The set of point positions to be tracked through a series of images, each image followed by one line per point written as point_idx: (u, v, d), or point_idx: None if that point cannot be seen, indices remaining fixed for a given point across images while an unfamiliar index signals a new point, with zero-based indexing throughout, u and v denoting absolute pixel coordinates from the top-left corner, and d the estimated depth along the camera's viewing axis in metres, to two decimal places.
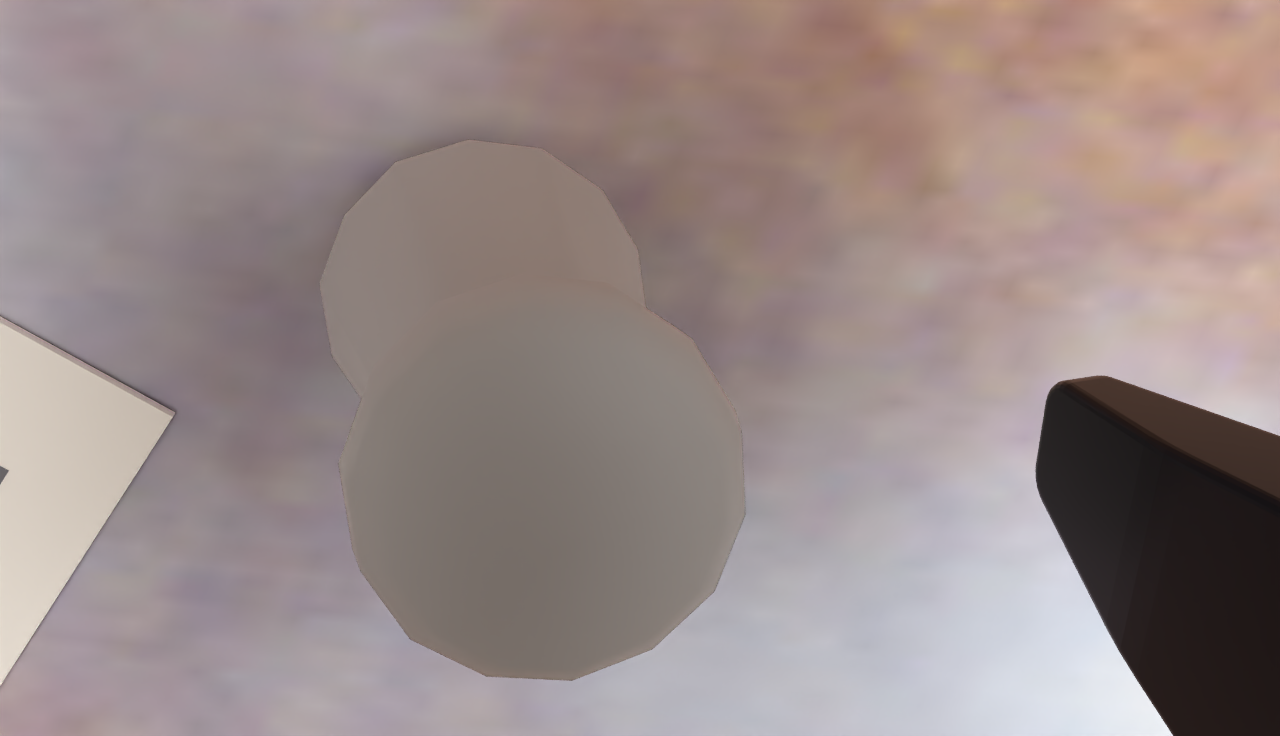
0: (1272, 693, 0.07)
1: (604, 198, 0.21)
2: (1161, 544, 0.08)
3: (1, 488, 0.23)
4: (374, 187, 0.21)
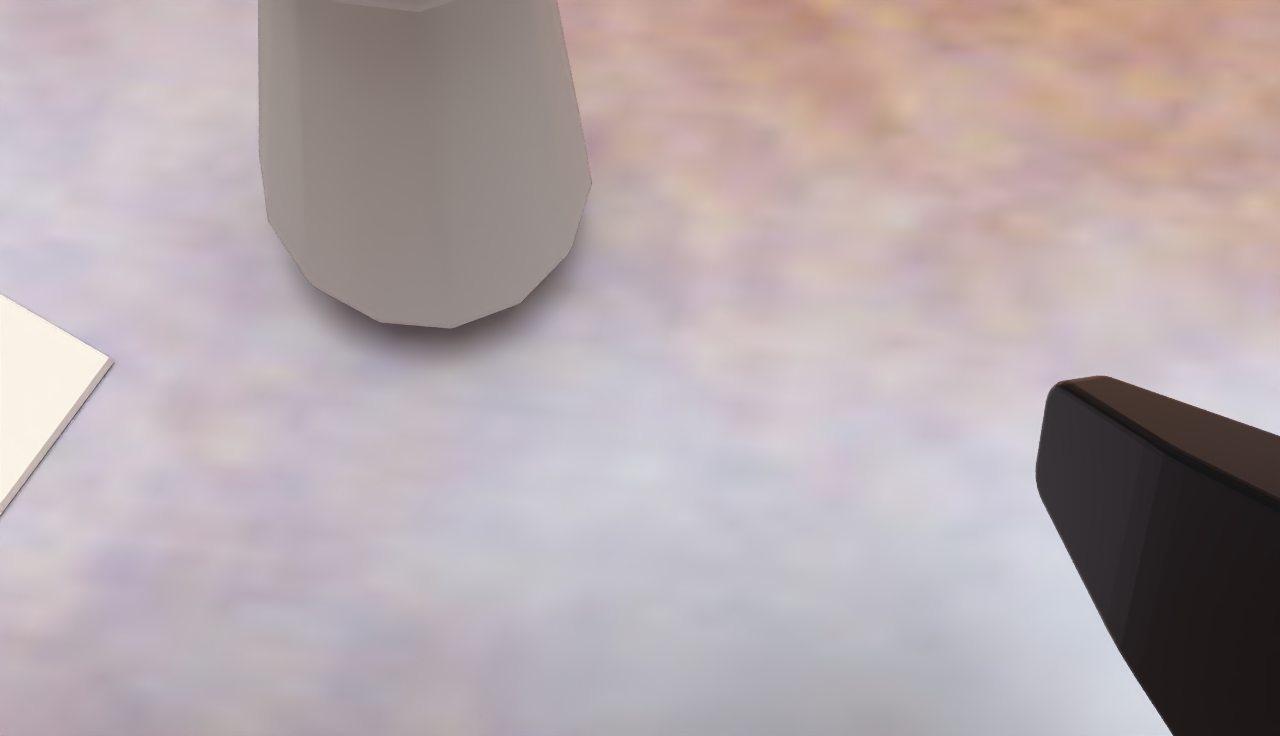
0: (1272, 694, 0.07)
1: None
2: (1161, 545, 0.08)
3: None
4: None
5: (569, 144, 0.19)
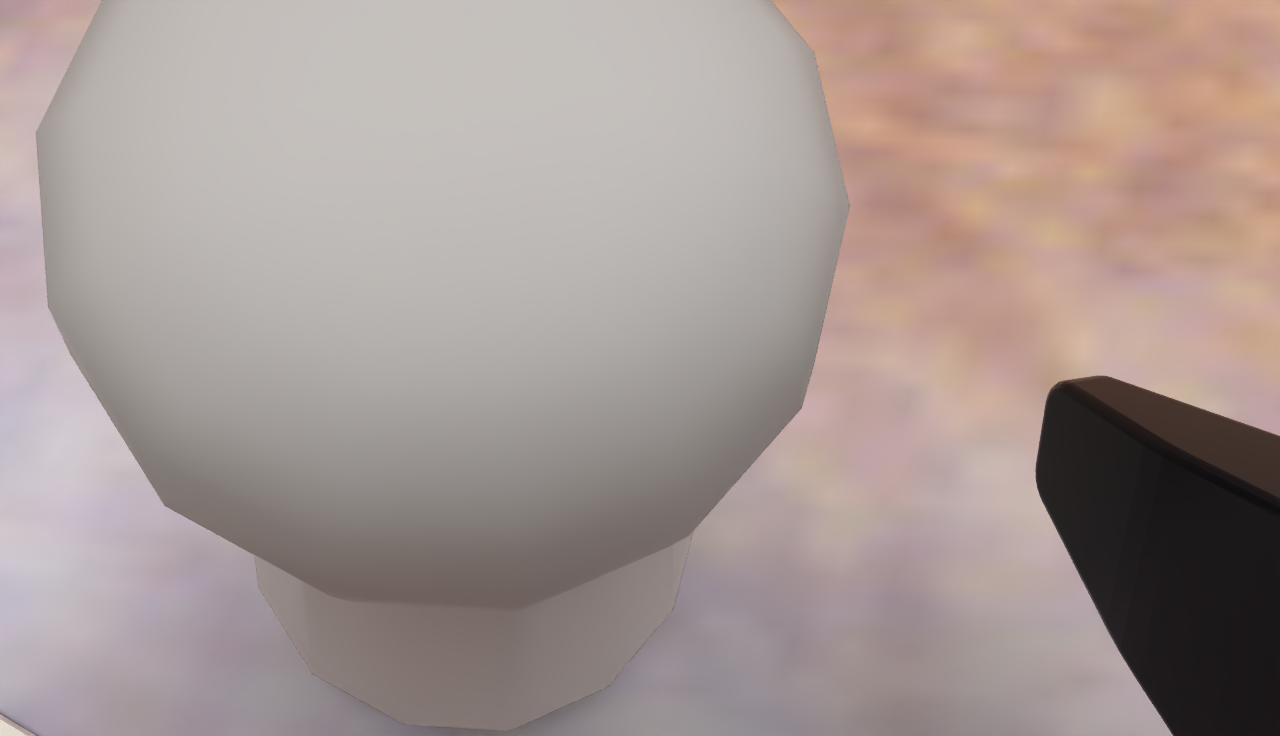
0: (1272, 693, 0.07)
1: None
2: (1161, 544, 0.08)
3: None
4: None
5: None
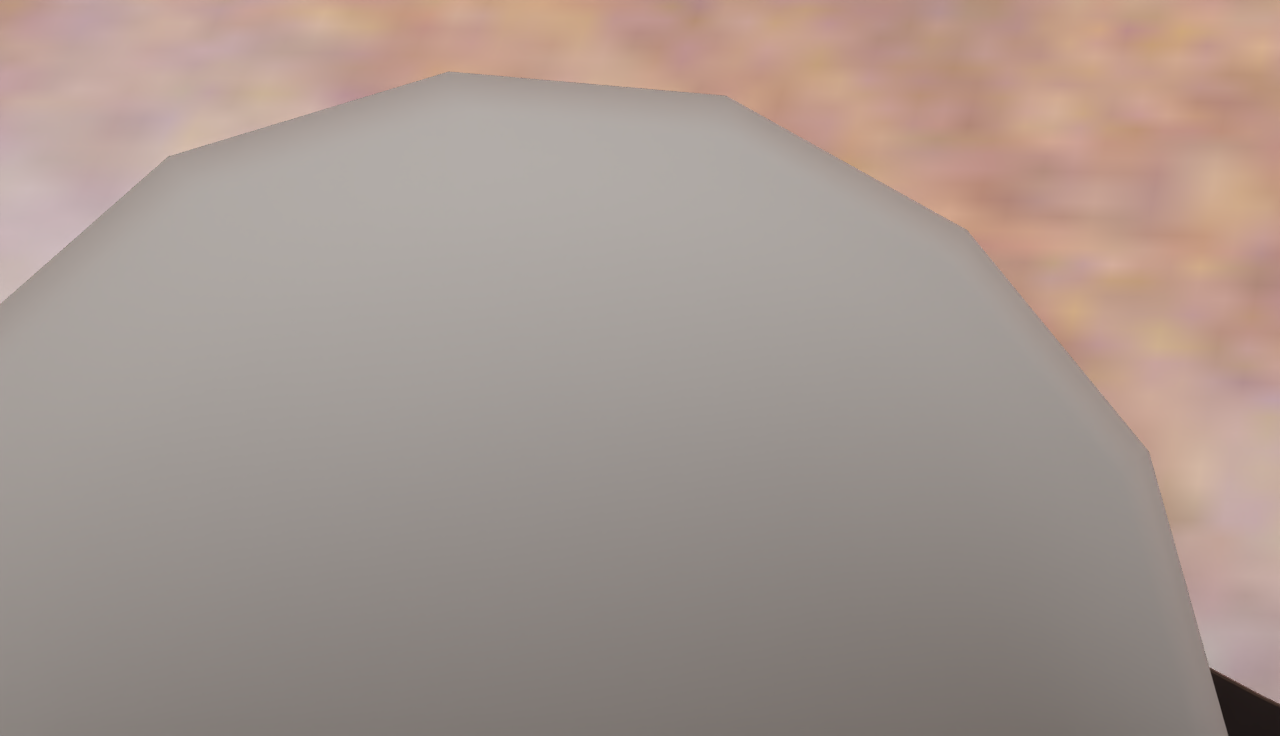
0: None
1: None
2: None
3: None
4: None
5: None
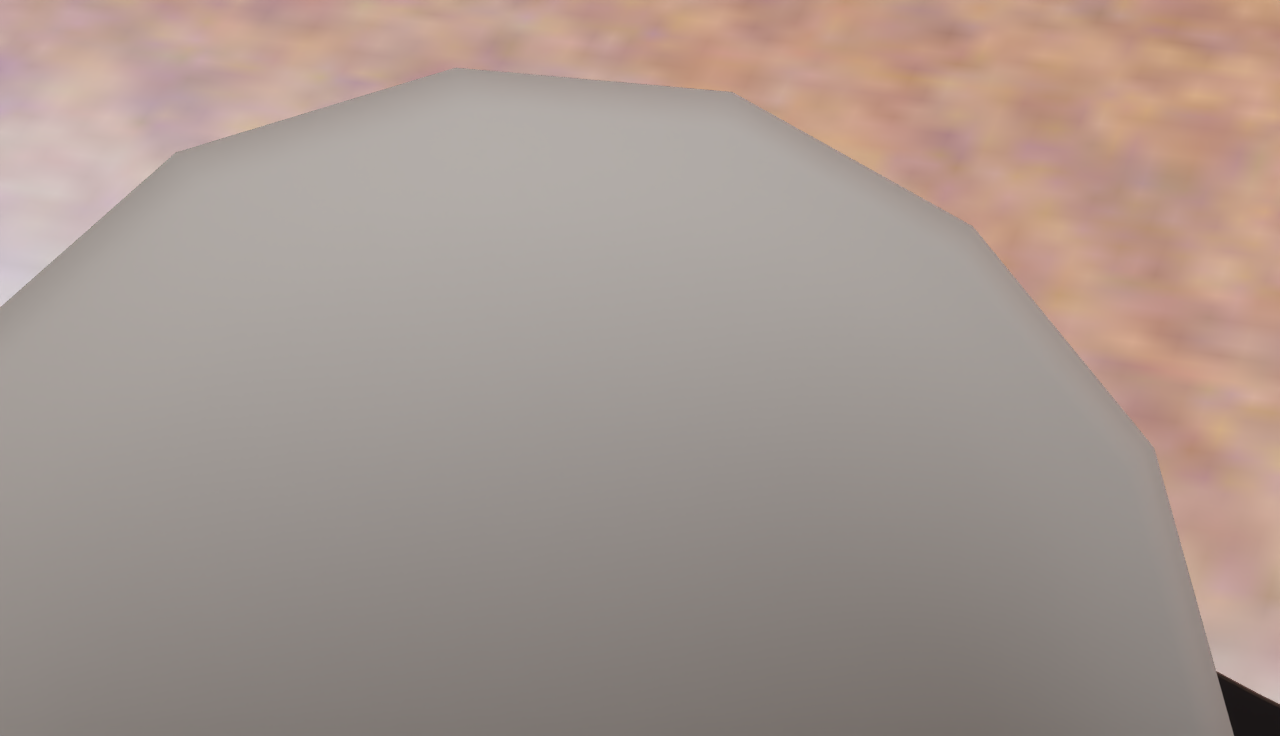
0: None
1: None
2: None
3: None
4: None
5: None
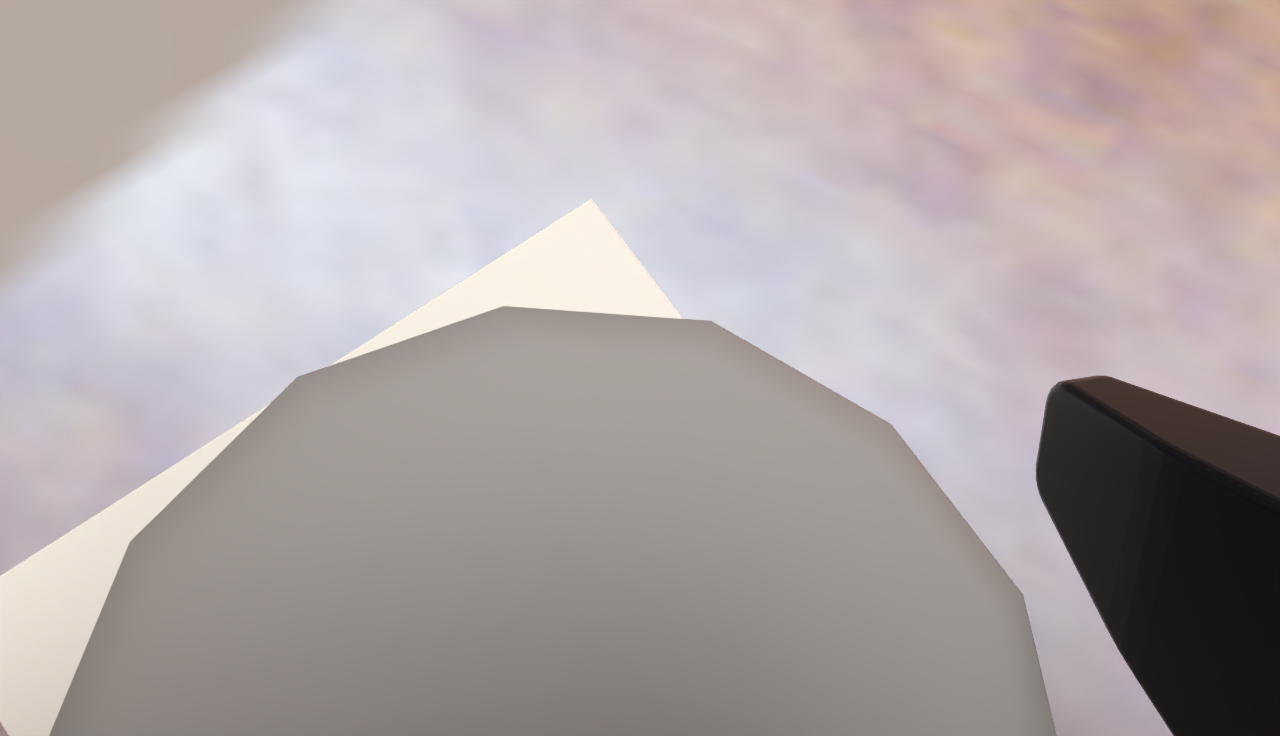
0: (1273, 693, 0.07)
1: None
2: (1162, 544, 0.08)
3: None
4: None
5: None
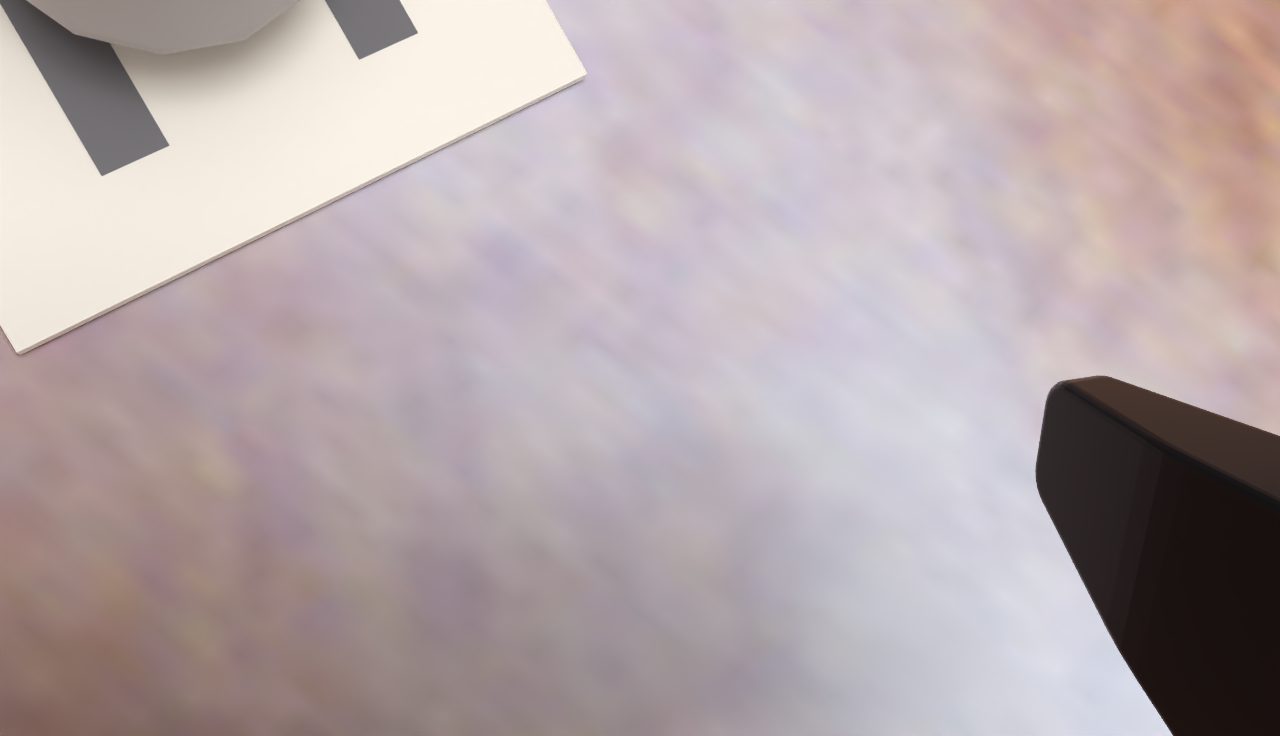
0: (1272, 693, 0.07)
1: None
2: (1161, 544, 0.08)
3: (399, 45, 0.22)
4: None
5: None
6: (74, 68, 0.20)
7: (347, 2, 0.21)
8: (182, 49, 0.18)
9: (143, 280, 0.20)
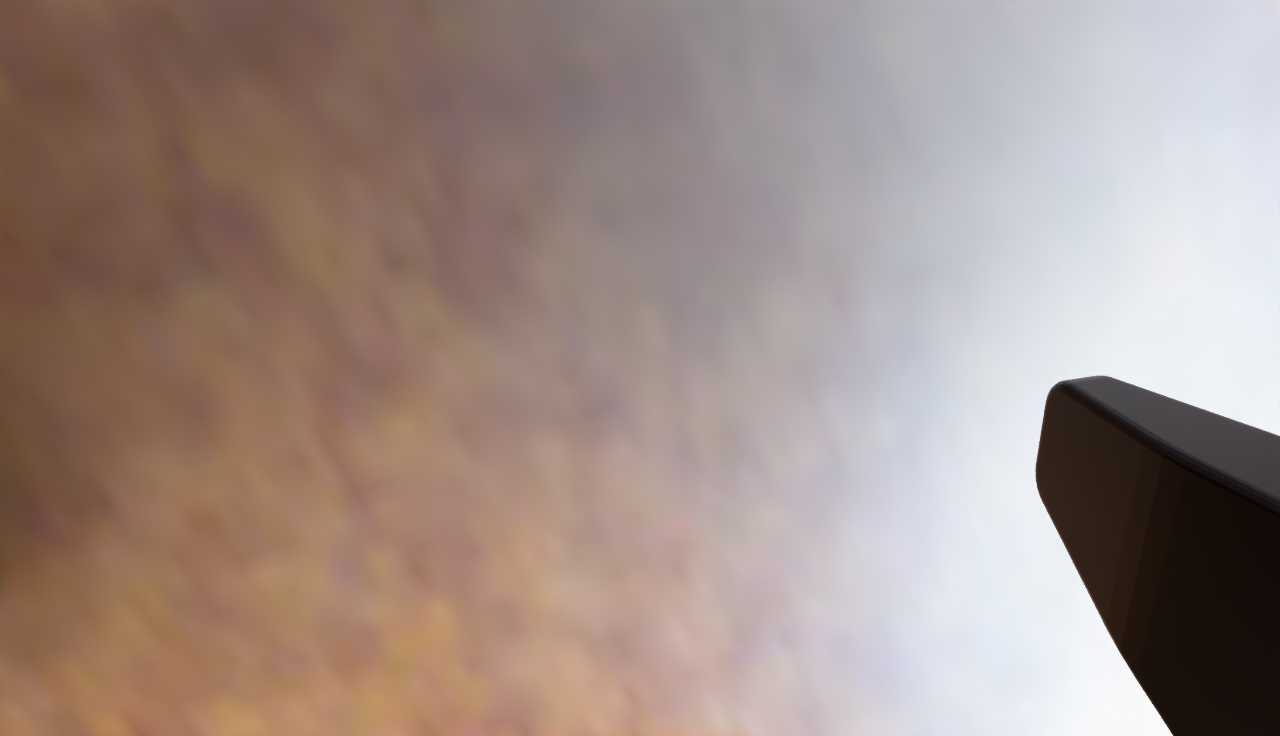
0: (1272, 693, 0.07)
1: None
2: (1161, 544, 0.08)
3: None
4: None
5: None
6: None
7: None
8: None
9: None
